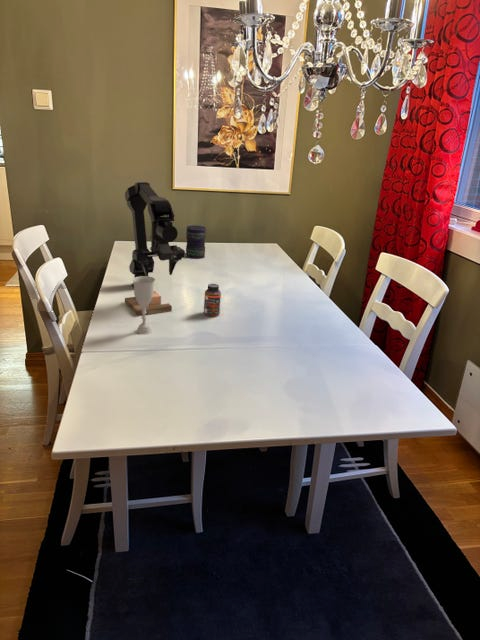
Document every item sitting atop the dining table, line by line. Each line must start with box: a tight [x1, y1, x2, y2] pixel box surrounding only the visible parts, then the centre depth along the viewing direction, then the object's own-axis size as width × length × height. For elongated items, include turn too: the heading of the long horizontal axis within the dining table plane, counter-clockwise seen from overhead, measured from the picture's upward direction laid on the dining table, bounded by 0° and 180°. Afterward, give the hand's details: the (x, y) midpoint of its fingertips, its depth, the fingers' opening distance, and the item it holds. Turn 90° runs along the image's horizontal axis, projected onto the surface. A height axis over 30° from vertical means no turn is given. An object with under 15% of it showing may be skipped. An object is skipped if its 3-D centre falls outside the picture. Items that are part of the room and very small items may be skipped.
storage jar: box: [185, 224, 207, 260], centre depth 249 cm, size 10×10×15 cm
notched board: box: [124, 296, 173, 317], centre depth 182 cm, size 14×13×2 cm
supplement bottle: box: [203, 283, 222, 318], centre depth 178 cm, size 6×6×11 cm
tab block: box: [148, 290, 162, 306], centre depth 182 cm, size 6×4×5 cm, turn 30°
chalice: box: [132, 275, 156, 335], centre depth 159 cm, size 7×7×18 cm
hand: (158, 275), depth 183 cm, fingers open, 9 cm apart
